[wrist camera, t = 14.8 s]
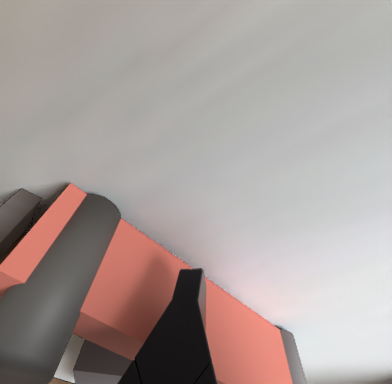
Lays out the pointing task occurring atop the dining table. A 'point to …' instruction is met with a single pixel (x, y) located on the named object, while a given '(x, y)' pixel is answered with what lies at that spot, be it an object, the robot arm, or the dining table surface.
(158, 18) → the dining table surface
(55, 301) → the gate
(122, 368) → the grey taped parcel
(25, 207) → the tan frame
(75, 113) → the dining table surface
